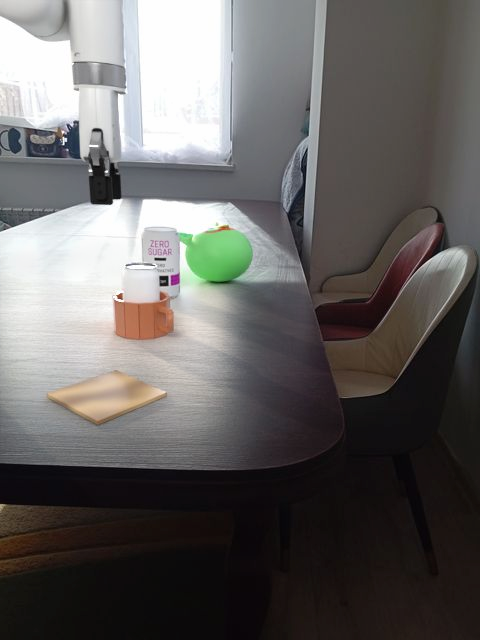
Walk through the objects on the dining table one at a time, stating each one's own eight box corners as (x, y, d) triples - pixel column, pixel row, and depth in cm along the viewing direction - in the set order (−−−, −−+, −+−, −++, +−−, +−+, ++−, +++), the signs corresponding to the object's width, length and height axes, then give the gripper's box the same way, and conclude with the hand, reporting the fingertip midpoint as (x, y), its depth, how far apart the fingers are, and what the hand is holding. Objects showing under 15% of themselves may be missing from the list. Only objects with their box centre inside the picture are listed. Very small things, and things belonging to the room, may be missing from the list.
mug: (103, 330, 93) (101, 295, 91) (145, 318, 101) (144, 286, 98) (151, 348, 86) (150, 310, 84) (192, 334, 94) (192, 300, 91)
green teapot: (218, 292, 123) (219, 229, 118) (169, 279, 132) (168, 221, 127) (263, 280, 137) (266, 224, 131) (216, 270, 146) (217, 217, 141)
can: (163, 325, 97) (162, 263, 93) (155, 337, 91) (154, 270, 87) (130, 323, 97) (127, 260, 93) (119, 334, 91) (116, 268, 87)
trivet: (46, 397, 67) (46, 393, 67) (115, 373, 76) (115, 369, 76) (97, 425, 61) (97, 421, 61) (166, 396, 70) (166, 392, 69)
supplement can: (169, 289, 123) (168, 225, 118) (186, 297, 117) (185, 230, 111) (137, 293, 118) (135, 226, 113) (153, 301, 112) (151, 232, 107)
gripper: (84, 86, 83) (92, 196, 89) (59, 70, 67) (70, 206, 73) (132, 89, 84) (136, 198, 90) (118, 74, 68) (124, 208, 74)
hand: (107, 201), depth 81 cm, fingers open, 9 cm apart
